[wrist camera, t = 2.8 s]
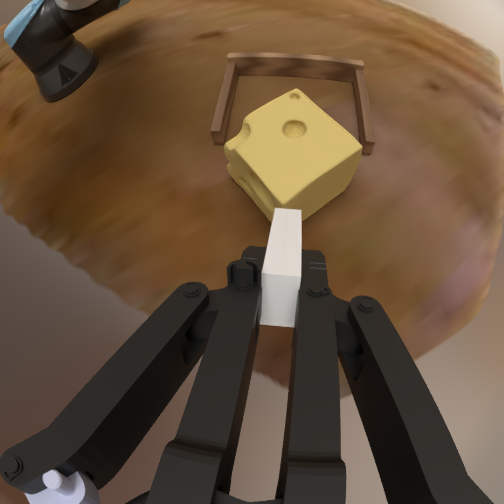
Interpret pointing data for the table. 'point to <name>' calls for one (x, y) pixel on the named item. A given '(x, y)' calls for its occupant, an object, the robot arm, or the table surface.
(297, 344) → the robot arm
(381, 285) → the table surface
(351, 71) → the brown wooden u frame
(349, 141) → the cheese
